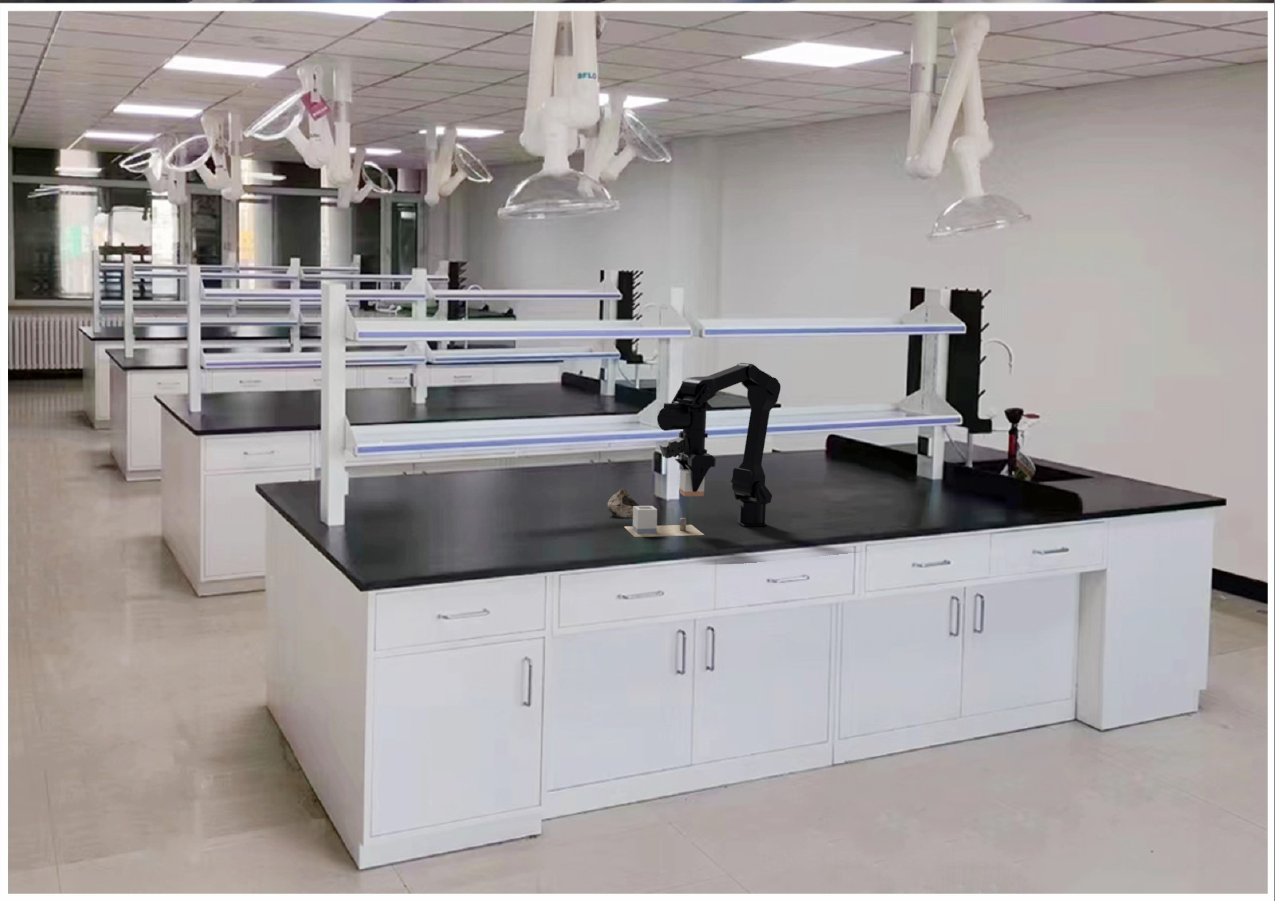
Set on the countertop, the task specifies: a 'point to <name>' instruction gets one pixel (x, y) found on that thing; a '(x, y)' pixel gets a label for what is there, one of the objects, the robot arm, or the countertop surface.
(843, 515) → the countertop surface
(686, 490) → the banded sleeve
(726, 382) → the robot arm
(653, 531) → the seated sleeve
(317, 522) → the countertop surface
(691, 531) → the pin board
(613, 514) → the rock
